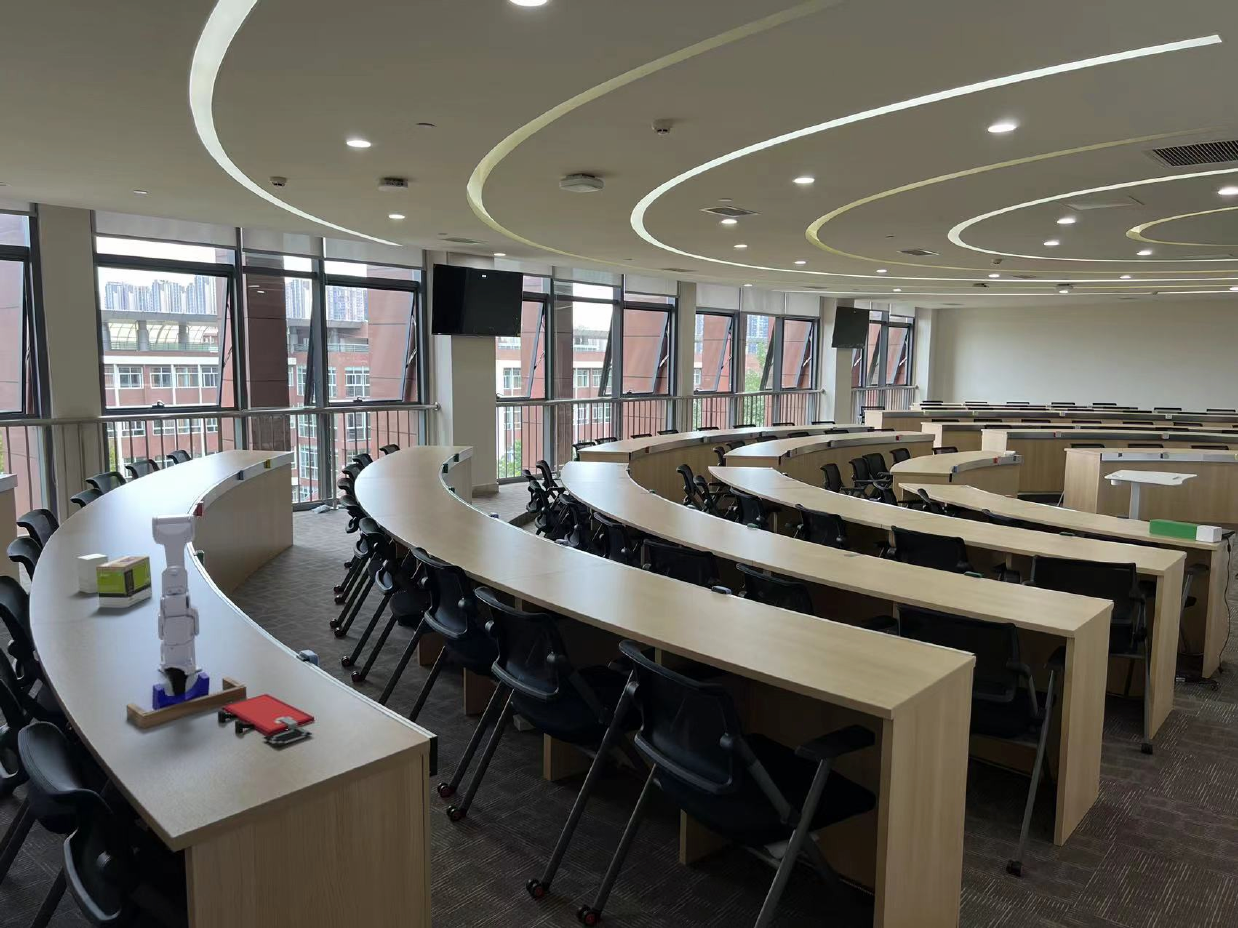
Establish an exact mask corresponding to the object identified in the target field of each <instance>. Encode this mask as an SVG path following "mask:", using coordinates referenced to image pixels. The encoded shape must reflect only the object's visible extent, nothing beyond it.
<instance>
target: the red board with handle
mask: <svg viewBox="0 0 1238 928" xmlns="http://www.w3.org/2000/svg"><path fill="white" fill-rule="evenodd" d="M224 710H225V711H226V712H225V711H224ZM229 713H230V714H229ZM234 718H235V719H237V718H238V719H237V720H235V721H234V732H235V733H236V734H237V735H241V734H244V730H245V729H254V730H255V729H256V730H257V731H259V732H261V733H262V734H264V735H265V736H264V737H262V739H264V740H266V741H268V742H269V743H271V744H273V745H275V746H277V747H279V746H282V745H285V744H287V743H290V742H294V741H296V740H300V739H303V738H305V737H308V736H311V735H313V733H312V732H310V731H308V730H306V729H304V728H302V727H300V726H303V725H302V724H304V725H306V723H307V724H309V723H308V722H310V721H313V722H315V716H314V715H313V716H312V715H310V714H309V713H307V712H305V711H303V710H300V709H298V708H296V707H294V706H292V705H291V704H288V703H286V702H284V701H282V700H279V699H278V698H276V697H274V696H272V695H270V694H267V693H264V694H261V695H257V696H254V697H250V698H245V699H242V700H238V701H235V702H232V703H228V704H225V705H222V706H221V710H219V711H217V722H218V721H219V722H218V723H220V724H221V723H223V724H225V722H226V723H227V720H228V719H230V720H231V719H232V720H233V719H234ZM242 721H243V722H242ZM310 723H311V722H310ZM299 725H300V726H299ZM286 729H288V730H286Z"/></svg>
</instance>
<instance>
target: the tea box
mask: <svg viewBox="0 0 1238 928" xmlns="http://www.w3.org/2000/svg"><path fill="white" fill-rule="evenodd" d="M150 559H151V558H150V556H145V555H144V556H131V555H130V556H128V555H127V556H126V555H122V556H120V557H117V558H114V559H112V560H108V562H107V563H104V564H102V565H99V566H96V572H97V584H98V592H97V593H98V606H99V608H107V609H109V608H114V609H115V608H116V609H127V608H129V607H131V606H133V605H135V604H137V603H139V602H141V601H143V600H146V599H149V598H150V597H152V596H153V588H152V587H153V586H152V574H151V564H150V563H151V562H150Z"/></svg>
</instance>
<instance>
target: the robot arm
mask: <svg viewBox="0 0 1238 928" xmlns="http://www.w3.org/2000/svg"><path fill="white" fill-rule="evenodd" d="M195 527H196V526H195V514H193V513H184V514H171V515H170V514H169V515H168V514H167V515H166V514H165V515H153V517H151V530H152V531H151V532H152V538H153V540H154V542H155V544H157V545H162V546H163V547H164V554H165V555H164V556H165V562H166V568H165V569H164V570H163V571H162V572H161V597H160V598H159V611H158V614H157V617H158V619H157V634H158V639H159V640H160V641H162V642H161V643H160V648H159V649H160V662H159V667H157V670H158V671H160V672H162V673H164V674H165V675H166V677H167V678H168V680H169V682H170V686H171V691H172V694H173V695H172V696H178V695H181V694H184V693H185V692H186V689H187V681H188V678H189V676H190V675H193V674H195V673H196V672H198V671H199V672H200V671H202V670H203V668H202V667H200V666H199V665H197V664H196V663H197V662H196V660H197V659H196V641H195V640H196V637H198V636H199V634H200V616H199V609H198V608H197V606H196V605H194V604H192V603H191V595H190V590H189V582H188V581H189V579H188V574H189V573H188V570H187V569H186V565H185V563H186V562H185V560H186V559H185V549H186V546H187V544H188V543H191V542H194V541H195V536H196V528H195Z"/></svg>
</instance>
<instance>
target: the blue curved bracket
mask: <svg viewBox="0 0 1238 928" xmlns="http://www.w3.org/2000/svg"><path fill="white" fill-rule="evenodd" d="M210 679H211V678H210V676H209V675H208V674H207V673H206V672H204V671H203V672H200V673H197V678H196V680H195V682H194V684H193V685H192V686H191V687H190V688H189V689H188V690H187V691H186V690H185V693H184V694H181V695H178V696H174V695H168V694H167V693H166V691H165V690H166V688H164V687H163V685H162V684H161V683H157V684H153V685H152V703H151V705H152V706H151V708H152V709H153V711H154V710H158V709H161V708H165V707H168V706H172V705H175V704H179V703H182V702H186V701H189V700H193V699H196V698H200V697H203V696H207V695H210Z"/></svg>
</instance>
